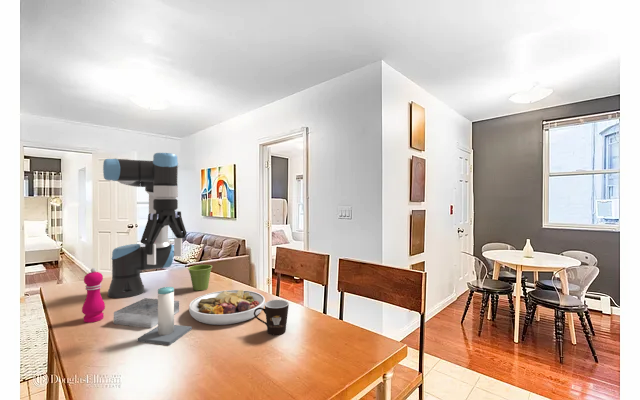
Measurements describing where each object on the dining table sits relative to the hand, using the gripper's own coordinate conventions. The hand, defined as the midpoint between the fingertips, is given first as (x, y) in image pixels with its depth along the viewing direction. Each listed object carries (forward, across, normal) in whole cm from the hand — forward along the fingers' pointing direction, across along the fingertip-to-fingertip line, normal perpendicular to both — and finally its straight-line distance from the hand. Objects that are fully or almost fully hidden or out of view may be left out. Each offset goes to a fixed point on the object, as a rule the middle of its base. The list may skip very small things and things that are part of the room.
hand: (165, 260), depth 108 cm
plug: (+25, 0, 0) cm, 25 cm away
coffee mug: (+26, -11, +35) cm, 45 cm away
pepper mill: (+26, -6, -36) cm, 45 cm away
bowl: (+27, -24, +11) cm, 37 cm away
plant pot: (+27, -50, -18) cm, 59 cm away
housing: (+26, -12, -17) cm, 33 cm away
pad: (+26, 0, 0) cm, 26 cm away
